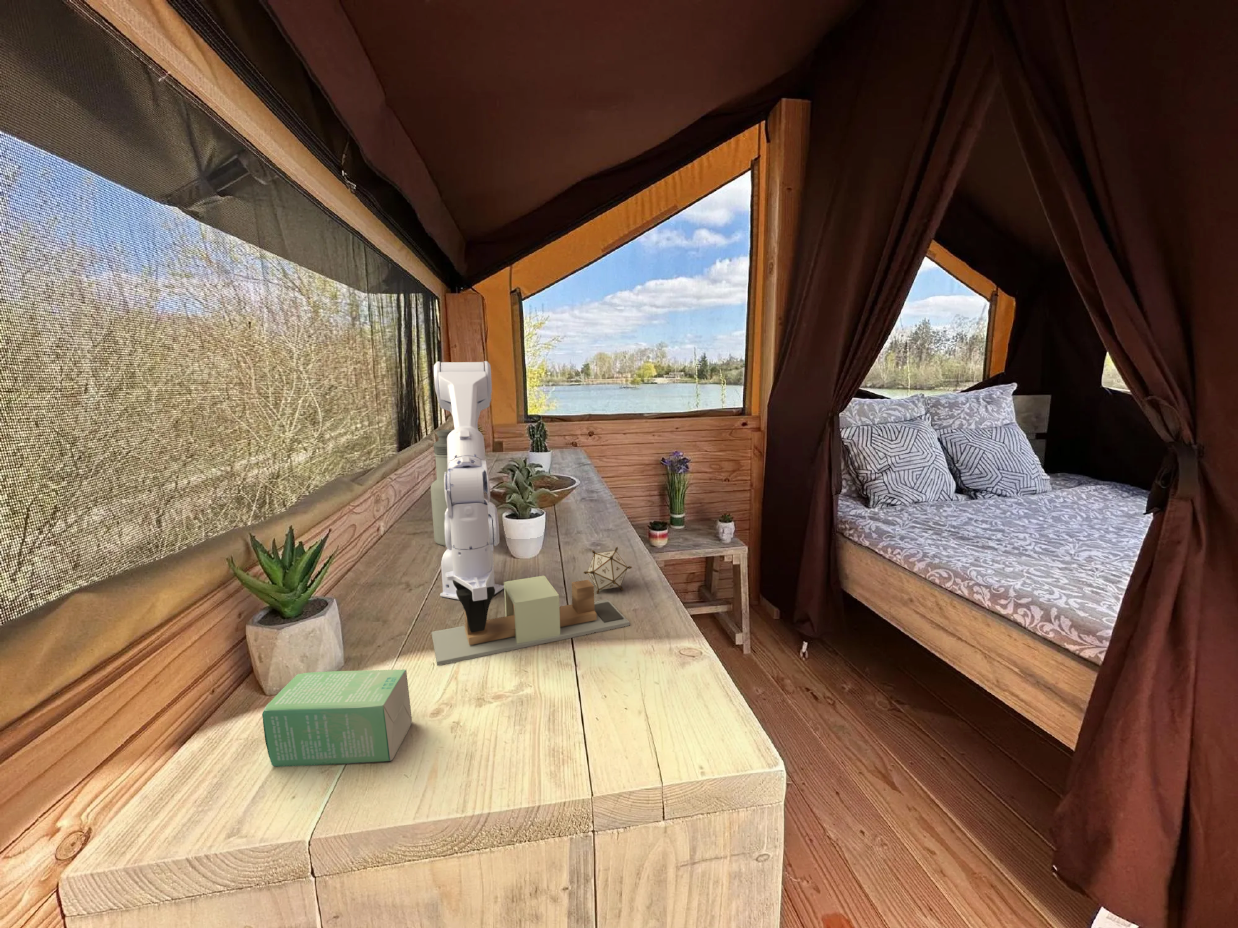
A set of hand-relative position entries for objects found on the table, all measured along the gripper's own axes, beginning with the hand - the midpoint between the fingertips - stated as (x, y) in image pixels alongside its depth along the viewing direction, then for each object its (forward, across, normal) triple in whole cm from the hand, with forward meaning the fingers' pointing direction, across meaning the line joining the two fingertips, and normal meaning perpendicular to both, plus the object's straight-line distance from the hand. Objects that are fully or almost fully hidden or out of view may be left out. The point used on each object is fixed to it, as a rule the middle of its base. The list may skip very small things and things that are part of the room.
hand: (475, 625), depth 86 cm
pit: (+3, 0, +22) cm, 22 cm away
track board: (+3, 0, +9) cm, 9 cm away
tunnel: (+3, 0, +9) cm, 9 cm away
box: (+3, +18, -18) cm, 26 cm away
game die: (+3, -11, +27) cm, 29 cm away
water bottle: (+3, -54, +3) cm, 55 cm away
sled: (+3, 0, +9) cm, 9 cm away
